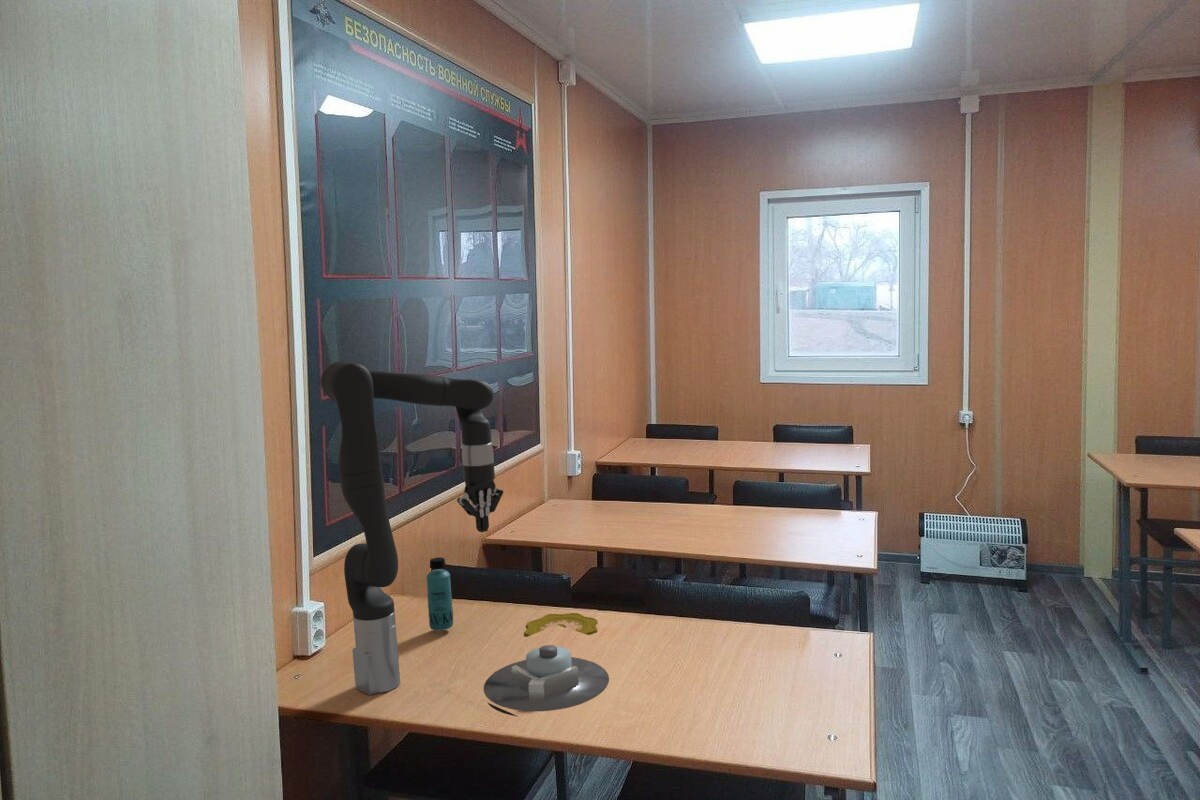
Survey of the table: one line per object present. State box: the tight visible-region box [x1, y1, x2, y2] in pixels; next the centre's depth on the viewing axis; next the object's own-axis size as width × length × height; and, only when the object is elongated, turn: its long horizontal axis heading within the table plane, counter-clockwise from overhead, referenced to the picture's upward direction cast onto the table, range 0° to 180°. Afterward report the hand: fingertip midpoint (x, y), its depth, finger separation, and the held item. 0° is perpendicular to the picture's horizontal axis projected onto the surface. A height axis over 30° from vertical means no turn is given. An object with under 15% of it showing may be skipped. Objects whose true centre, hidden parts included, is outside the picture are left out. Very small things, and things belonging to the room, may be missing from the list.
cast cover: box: [525, 644, 572, 678], centre depth 199 cm, size 10×10×8 cm
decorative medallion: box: [523, 612, 599, 638], centre depth 234 cm, size 20×20×2 cm
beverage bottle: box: [426, 557, 455, 631], centre depth 235 cm, size 6×7×20 cm
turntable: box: [483, 656, 610, 717], centre depth 198 cm, size 28×28×6 cm
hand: (483, 531), depth 217 cm, fingers closed
